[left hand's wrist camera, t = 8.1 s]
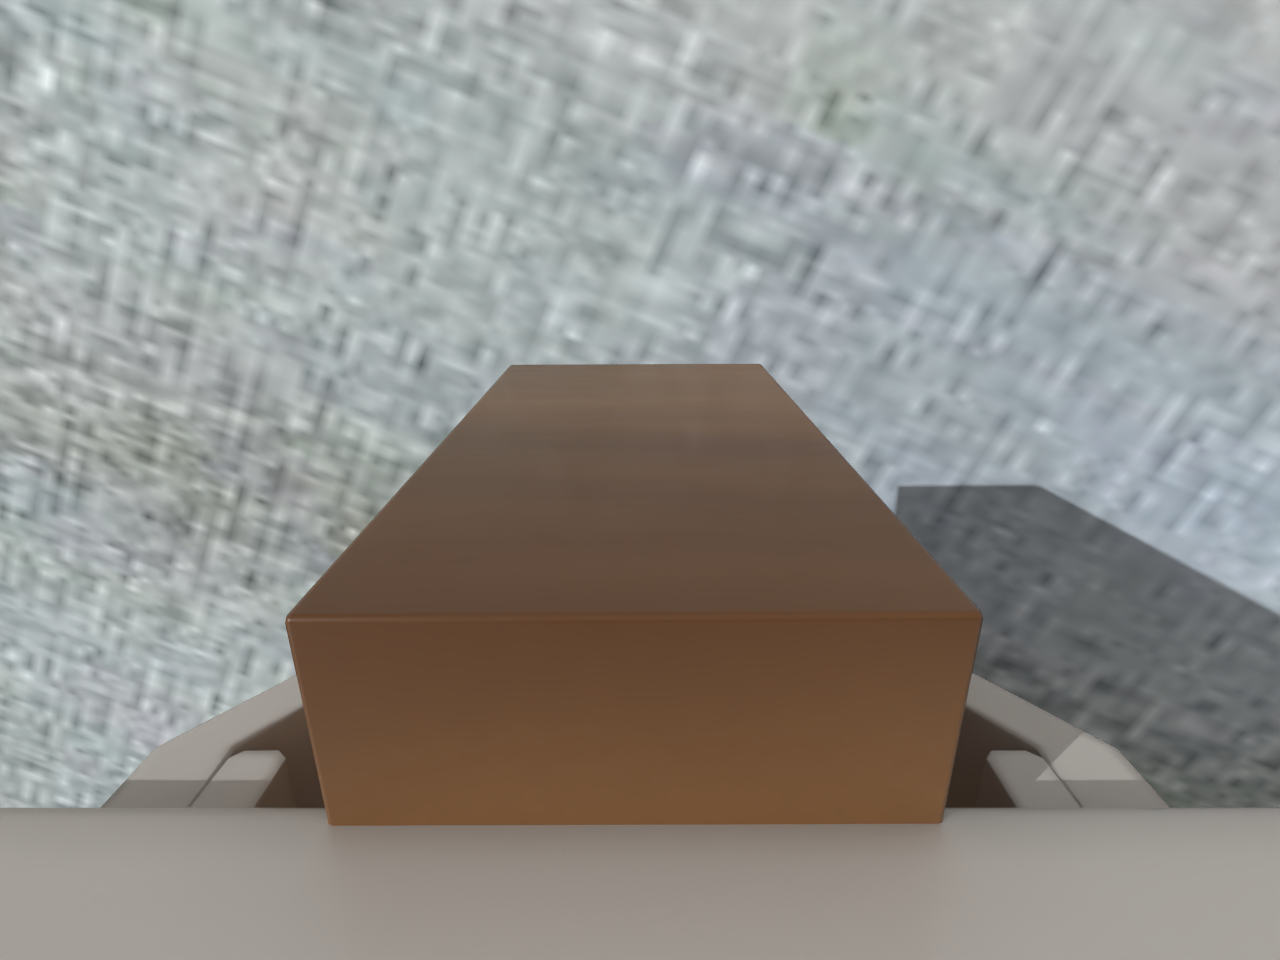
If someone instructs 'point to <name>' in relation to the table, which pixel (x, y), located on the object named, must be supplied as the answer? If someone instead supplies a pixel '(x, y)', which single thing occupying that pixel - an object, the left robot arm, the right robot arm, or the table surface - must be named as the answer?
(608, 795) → the bar
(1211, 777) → the table surface
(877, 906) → the left robot arm
